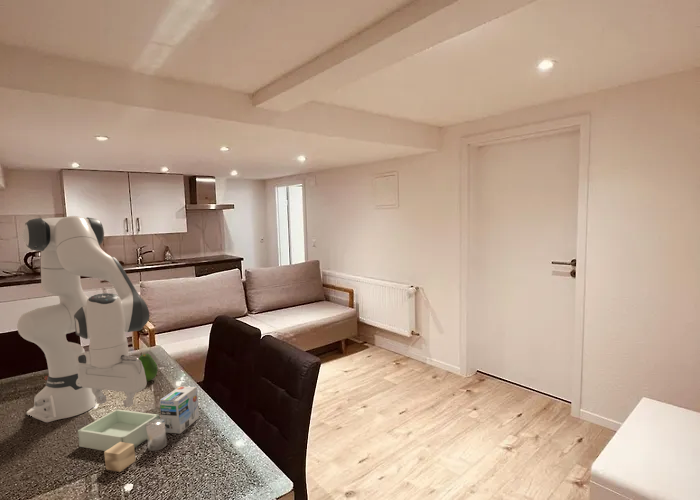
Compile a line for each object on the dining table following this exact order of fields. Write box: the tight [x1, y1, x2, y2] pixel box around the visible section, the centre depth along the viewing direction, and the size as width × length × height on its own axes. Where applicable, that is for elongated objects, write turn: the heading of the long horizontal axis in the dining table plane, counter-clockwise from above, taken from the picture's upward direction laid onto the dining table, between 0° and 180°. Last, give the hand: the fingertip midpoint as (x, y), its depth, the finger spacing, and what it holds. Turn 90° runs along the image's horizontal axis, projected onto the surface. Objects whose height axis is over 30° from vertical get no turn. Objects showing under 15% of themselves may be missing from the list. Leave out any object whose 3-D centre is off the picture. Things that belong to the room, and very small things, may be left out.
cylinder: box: [146, 418, 168, 452], centre depth 118 cm, size 5×5×7 cm
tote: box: [77, 408, 161, 452], centre depth 124 cm, size 18×14×5 cm
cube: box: [103, 442, 137, 473], centre depth 109 cm, size 5×5×5 cm
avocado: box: [138, 353, 159, 383], centre depth 168 cm, size 8×8×12 cm
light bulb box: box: [159, 385, 200, 434], centre depth 130 cm, size 11×7×11 cm, turn 168°
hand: (115, 404), depth 108 cm, fingers open, 8 cm apart
